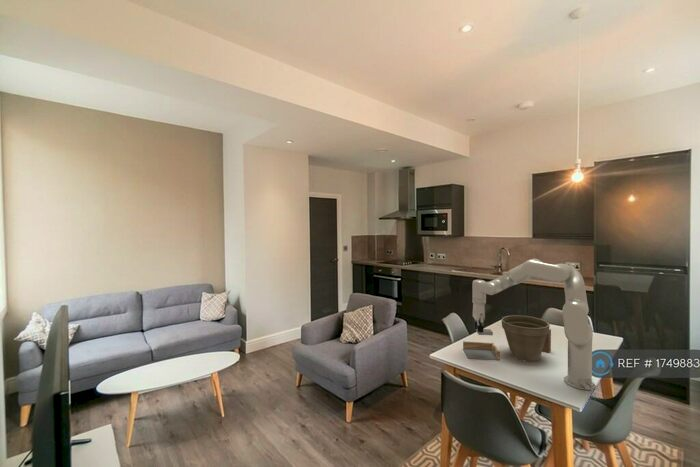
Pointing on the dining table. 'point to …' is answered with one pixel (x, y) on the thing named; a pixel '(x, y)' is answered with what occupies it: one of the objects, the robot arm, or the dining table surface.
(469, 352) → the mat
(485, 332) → the bracket
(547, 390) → the dining table surface
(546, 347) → the wooden block
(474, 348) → the walls
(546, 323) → the plant pot
